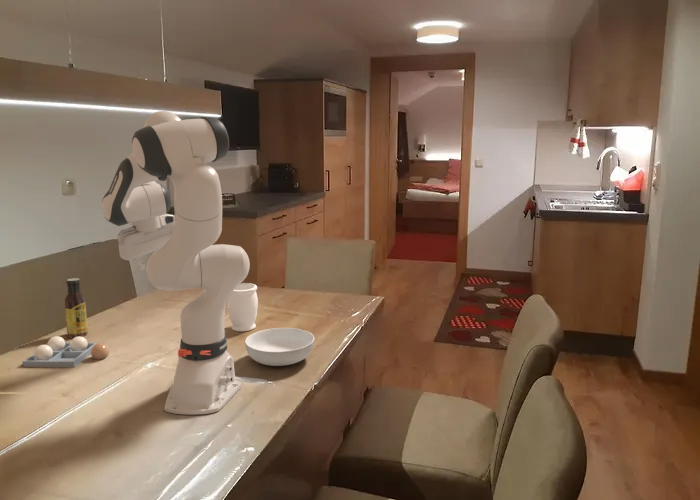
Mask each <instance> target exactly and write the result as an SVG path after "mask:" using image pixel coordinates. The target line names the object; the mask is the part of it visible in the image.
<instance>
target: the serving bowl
mask: <svg viewBox="0 0 700 500" xmlns="http://www.w3.org/2000/svg"><path fill="white" fill-rule="evenodd" d="M244 340H245V341H244V345H245V350H246V352H247V354H248V355H249V357H250V358H251V359H252V360H253V361H255V362H257V363H259V364H261V365H264V366H265V365H266V366H272V367H282V366H283V367H284V366H290V365H293V364H296V363H299V362H301V361H303V360H305V359H306V358H307V357H309V355H310V354H311V353H312V351H313V349H314V345H315V341H316V340H315V336H314V334H313V333H312V332H310V331H307V330H305V329H301V328H294V327H275V328H267V329H262V330H259V331H256V332H254V333H251V334H249V335H248V336H247V337H246V338H245V339H244Z"/></svg>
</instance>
